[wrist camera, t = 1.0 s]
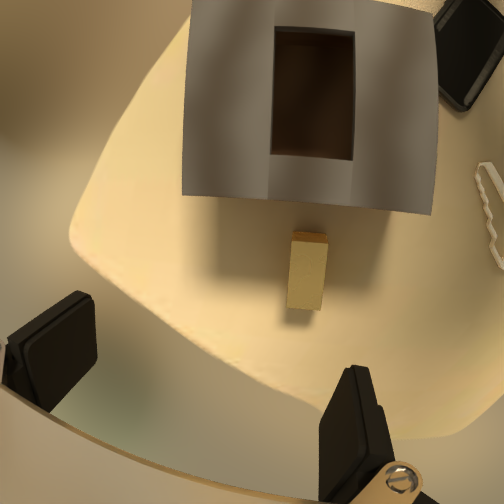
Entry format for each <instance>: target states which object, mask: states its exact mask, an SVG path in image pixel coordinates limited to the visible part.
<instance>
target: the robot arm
mask: <svg viewBox="0 0 504 504" xmlns="http://www.w3.org/2000/svg"><path fill="white" fill-rule="evenodd" d="M7 339H8V344H7V345H5V344H4V342H3V341H2V340H1V339H0V504H439V503H437V502H436V501H435V500H433V499H431V498H430V497H429V496H427V495H426V494H424V493H423V492H422V491H421V488H422V486H423V479H422V476H421V474H420V472H419V471H418V470H417V469H416V468H415V467H413V466H412V465H411V464H408V463H406V462H401V461H395V457H394V452H393V448H392V443H391V439H390V434H389V430H388V426H387V422H386V418H385V414H384V410H383V407H382V406H381V405H378V404H377V400H376V396H375V391H374V388H373V384H372V380H371V376H370V372H369V369H368V367H364V366H358V365H351V367H350V368H345V369H344V371H343V374H342V376H341V378H340V380H339V383H338V385H337V387H336V389H335V391H334V393H333V396H332V398H331V400H330V402H329V404H328V406H327V408H326V410H325V412H324V414H323V416H322V418H321V421H320V424H319V496H318V498H319V501H313V500H306V499H298V498H292V497H285V496H279V495H273V494H268V493H263V492H258V491H253V490H248V489H243V488H238V487H234V486H230V485H226V484H222V483H218V482H214V481H210V480H207V479H203V478H200V477H196V476H193V475H189V474H187V473H183V472H180V471H177V470H174V469H171V468H168V467H165V466H162V465H159V464H157V463H154V462H151V461H149V460H146V459H143V458H141V457H138V456H136V455H133V454H131V453H128V452H126V451H124V450H121V449H119V448H117V447H114V446H112V445H110V444H108V443H105V442H103V441H101V440H99V439H97V438H95V437H93V436H91V435H89V434H87V433H85V432H83V431H81V430H79V429H77V428H75V427H73V426H71V425H69V424H67V423H66V422H64V421H62V420H60V419H58V418H57V417H55V416H53V415H51V414H50V412H51V411H52V410H53V409H54V408H55V406H56V405H57V404H58V403H59V402H60V401H61V400H62V399H63V398H64V397H65V396H66V394H67V393H68V392H69V391H70V390H71V389H72V388H73V387H74V386H75V385H76V384H77V383H78V381H79V380H80V379H81V378H82V377H83V376H84V375H85V374H86V373H87V372H88V371H89V370H90V369H91V367H92V366H94V364H95V363H96V361H97V343H96V328H95V304H94V301H93V300H92V297H91V296H90V295H89V294H87V293H84V292H81V291H78V290H77V291H75V292H73V293H72V294H70V295H68V296H67V297H65V298H64V299H62V300H61V301H59V302H58V303H57V304H55V305H53V306H52V307H50V308H49V309H47V310H46V311H44V312H43V313H42V314H40V315H39V316H37V317H36V318H34V319H33V320H31V321H30V322H28V323H27V324H26V325H24V326H23V327H21V328H20V329H18V330H17V331H16V332H14V333H13V334H11V335H10V336H9V337H7Z"/></svg>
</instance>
